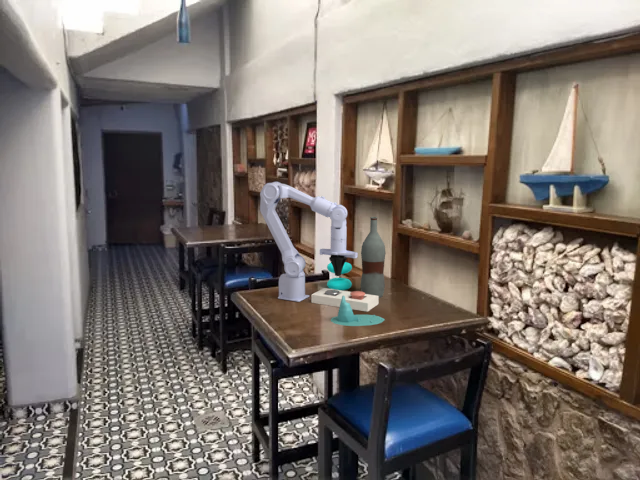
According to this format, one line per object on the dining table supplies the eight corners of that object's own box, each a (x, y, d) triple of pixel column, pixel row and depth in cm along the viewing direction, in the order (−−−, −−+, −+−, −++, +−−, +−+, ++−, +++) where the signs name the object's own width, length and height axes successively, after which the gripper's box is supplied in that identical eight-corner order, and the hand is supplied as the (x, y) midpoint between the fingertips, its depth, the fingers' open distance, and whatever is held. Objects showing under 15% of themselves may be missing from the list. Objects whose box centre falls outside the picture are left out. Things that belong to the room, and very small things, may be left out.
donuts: (353, 261, 197) (349, 266, 187) (353, 285, 198) (349, 291, 189) (329, 260, 199) (324, 265, 189) (329, 283, 201) (324, 290, 191)
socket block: (311, 302, 175) (311, 294, 174) (324, 295, 183) (324, 288, 183) (367, 311, 164) (367, 303, 164) (378, 303, 173) (378, 295, 173)
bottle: (380, 300, 178) (382, 219, 173) (357, 297, 181) (358, 218, 176) (387, 293, 186) (389, 216, 181) (364, 291, 190) (366, 215, 185)
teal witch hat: (392, 326, 151) (393, 300, 150) (329, 328, 150) (329, 301, 148) (384, 314, 163) (385, 289, 161) (325, 315, 161) (325, 291, 160)
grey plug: (322, 300, 175) (322, 292, 175) (329, 297, 180) (329, 289, 179) (335, 302, 173) (335, 294, 172) (341, 299, 177) (342, 290, 177)
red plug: (347, 302, 170) (347, 293, 170) (353, 298, 175) (354, 290, 174) (361, 304, 168) (361, 295, 167) (367, 300, 172) (367, 292, 172)
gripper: (315, 238, 174) (315, 275, 176) (352, 242, 167) (351, 280, 169) (324, 236, 180) (324, 271, 182) (360, 239, 173) (359, 276, 175)
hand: (338, 275), depth 176 cm, fingers closed
